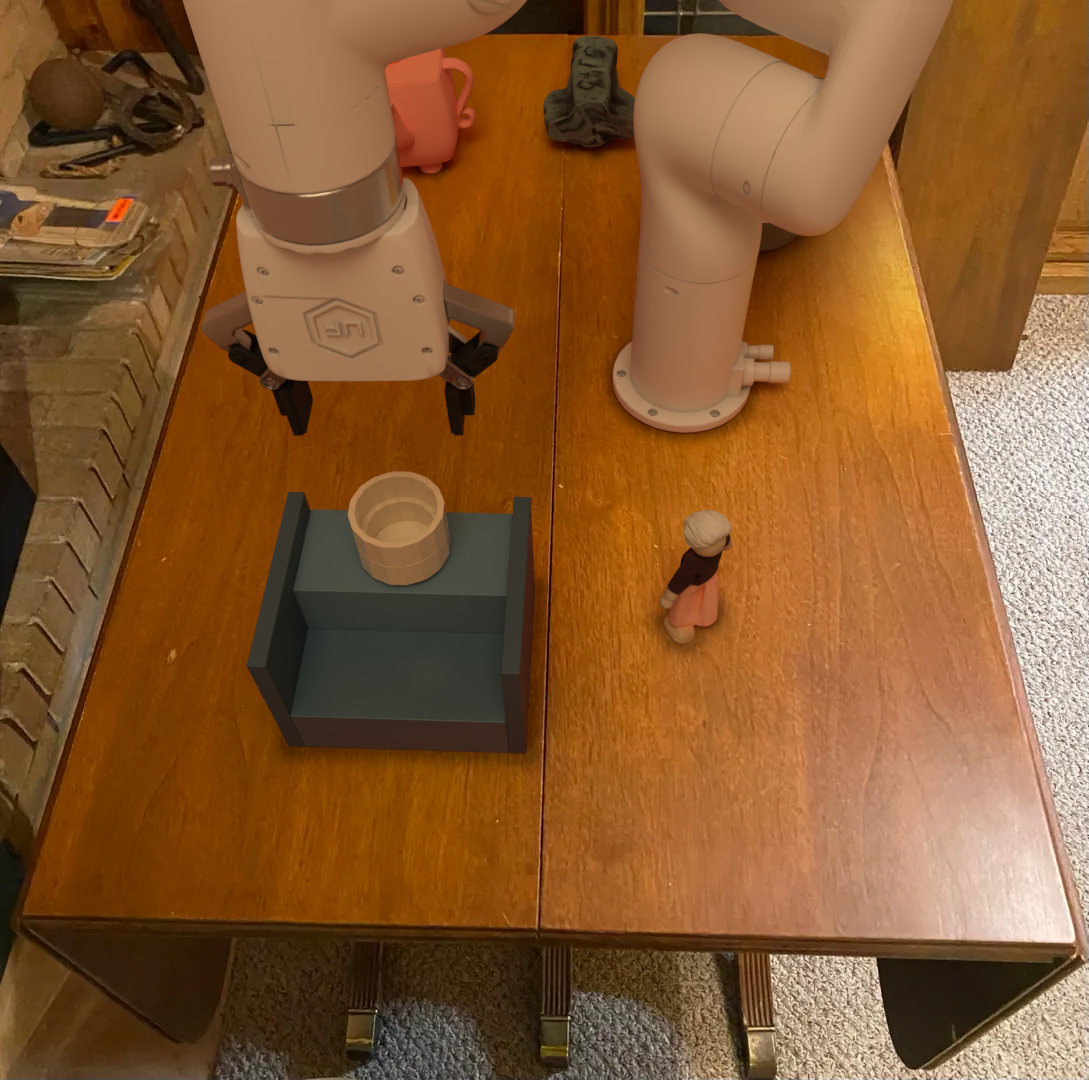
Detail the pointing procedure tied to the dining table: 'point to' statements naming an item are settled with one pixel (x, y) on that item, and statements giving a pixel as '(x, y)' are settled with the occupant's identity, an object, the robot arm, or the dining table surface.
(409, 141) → the teapot
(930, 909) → the dining table surface
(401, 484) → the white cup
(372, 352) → the robot arm
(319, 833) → the dining table surface
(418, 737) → the step shelf
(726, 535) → the grandmother figurine
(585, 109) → the sculpture
